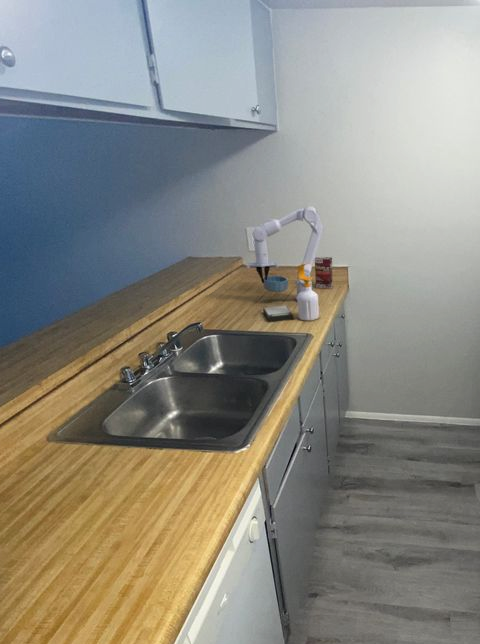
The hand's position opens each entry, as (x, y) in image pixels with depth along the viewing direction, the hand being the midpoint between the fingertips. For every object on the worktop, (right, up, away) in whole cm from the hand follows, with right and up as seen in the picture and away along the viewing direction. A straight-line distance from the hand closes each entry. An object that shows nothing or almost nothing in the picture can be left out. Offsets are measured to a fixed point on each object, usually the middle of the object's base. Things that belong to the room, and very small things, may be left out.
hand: (264, 282), depth 228 cm
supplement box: (+26, +4, +29) cm, 39 cm away
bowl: (+5, -3, +2) cm, 6 cm away
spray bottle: (+24, -20, -16) cm, 35 cm away
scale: (+10, -19, -14) cm, 25 cm away
